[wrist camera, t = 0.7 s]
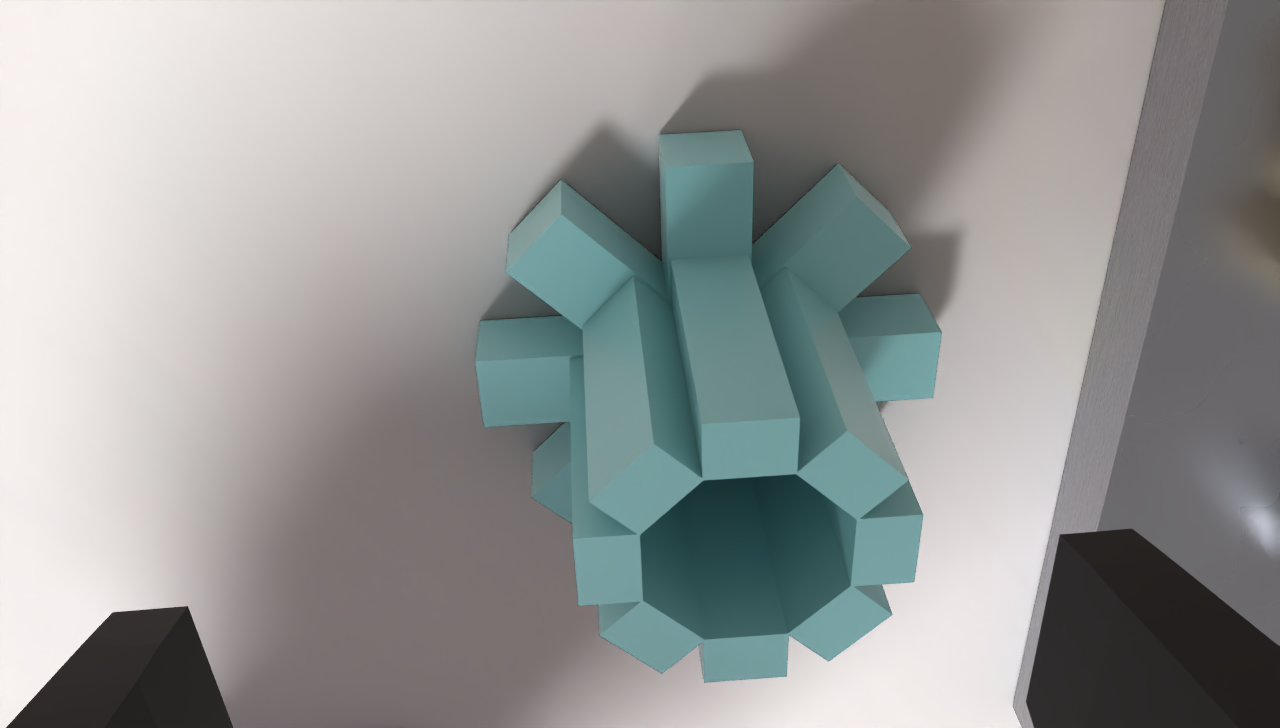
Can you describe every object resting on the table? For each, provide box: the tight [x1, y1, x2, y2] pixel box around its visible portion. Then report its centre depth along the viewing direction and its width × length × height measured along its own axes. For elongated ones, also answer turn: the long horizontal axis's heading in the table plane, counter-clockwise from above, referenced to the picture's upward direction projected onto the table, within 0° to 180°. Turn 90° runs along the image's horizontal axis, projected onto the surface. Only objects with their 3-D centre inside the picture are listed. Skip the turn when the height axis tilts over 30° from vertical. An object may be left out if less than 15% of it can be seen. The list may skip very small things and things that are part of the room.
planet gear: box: [475, 130, 942, 683], centre depth 16 cm, size 7×7×5 cm
